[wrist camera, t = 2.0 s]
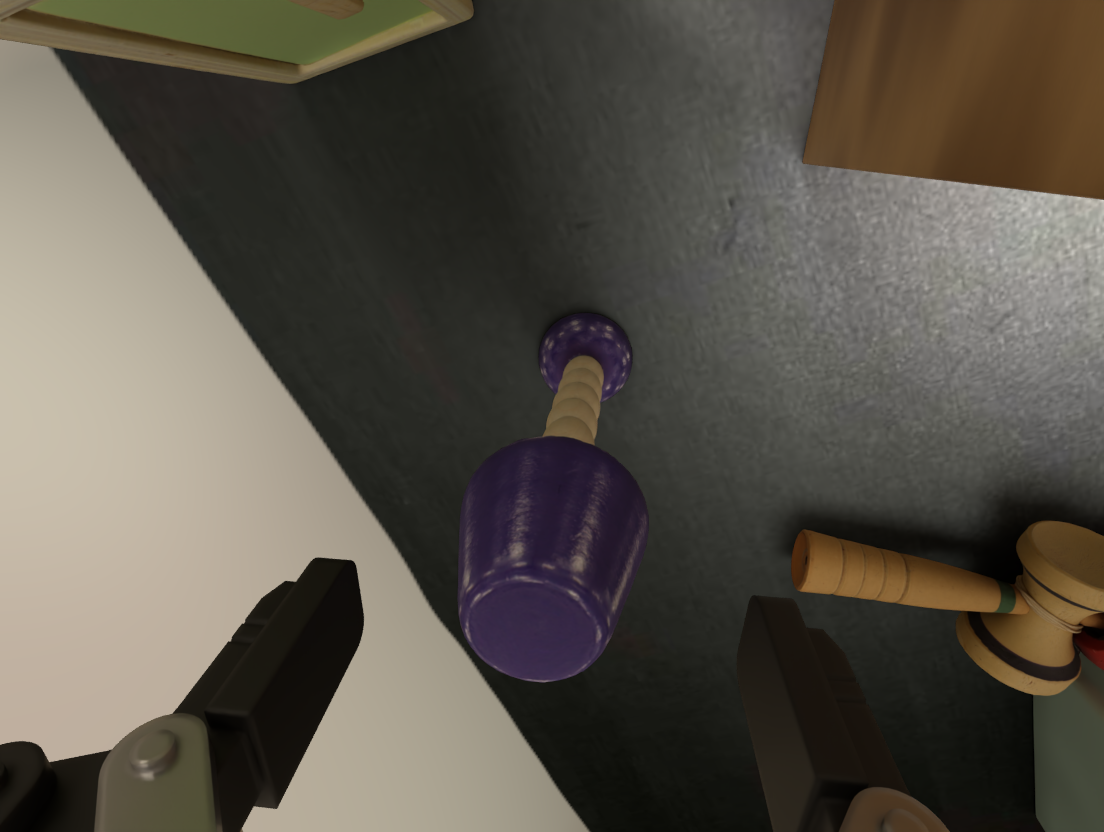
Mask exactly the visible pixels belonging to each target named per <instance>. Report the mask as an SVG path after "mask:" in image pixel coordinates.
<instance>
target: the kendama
mask: <svg viewBox="0 0 1104 832" xmlns="http://www.w3.org/2000/svg"><path fill="white" fill-rule="evenodd" d="M1016 550H1017V554H1018V556H1019V558H1020V561H1021V563H1022V565H1023V575H1018V576H1017V577H1016V582H1015V584H1009V583H1006V582H1002V581H999V580H996V579H993V578H990V577H987V576H984V575H980V574H977V573H974V572H970V571H967V570H964V569H961V568H957V567H954V566H950V565H947V564H943V563H940V562H936V561H932V560H928V559H924V558H920V557H916V556H912V555H907V554H903V553H897V552H894V551H890V550H886V549H880V548H876V547H873V546H869V545H865V544H860V543H856V542H852V541H848V540H844V539H837V538H835V537H832V536H828V535H825V534H821V533H817V532H814V531H810V530H805V529H804V530H802V531H801V532H800V533H799V534H798V536H797V538H796V541H795V544H794V547H793V552H792V561H791V574H792V580H793V583H794V586H795V588H796V589H797V590H799V591H803V592H812V593H822V594H831V593H832V594H834V595H839V596H847V597H856V598H862V599H870V600H871V599H874V600H877V601H884V602H891V603H892V602H895V603H899V604H905V605H912V606H920V607H928V608H937V609H948V610H961V613H960V614H959V616H958V618H957V620H956V634H957V637H958V640H959V642H960V644H961V646H962V647H963V648H964V650H965V651H966V652H967V653H968V655H969V656H970V657H971V658H972V659H973V661H975V662H976V663H977V664H978V665H979V666H980V667H981V668H982V669H984V670H985V671H986V672H987V673H989V674H990V675H991V676H993V677H994V678H996V679H998V680H999V681H1001V682H1002V683H1004V684H1006V685H1008V686H1010V687H1013V688H1015V689H1017V690H1020V691H1022V692H1025V693H1029V694H1033V695H1043V696H1050V695H1055V694H1058V693H1060V692H1061V691H1063V690H1065V689H1066V688H1067V687H1068V686H1069V685H1070V684H1071V683H1072V682H1074V681H1075V680H1076V679H1077V678H1078V676H1079V675H1080V672H1081V659H1080V656H1079V654H1080V652H1081V653H1082V654H1083V655H1084V656H1086V657H1087V658H1088V659H1089V660H1090V661H1091V662H1093V663H1094V664H1095V665H1096V666H1098V667H1099V668H1101V669H1102V670H1104V536H1102V535H1099V534H1097V533H1095V532H1093V531H1091V530H1089V529H1086V528H1083V527H1080V526H1077V525H1073V524H1070V523H1065V522H1059V521H1039V522H1036V523H1033V524H1032V525H1030V526H1029V527H1028V528H1027V530H1026V531H1025V532H1024V533H1023V534H1022V535H1021V536H1020V538H1019V539H1018V541H1017V545H1016Z"/></svg>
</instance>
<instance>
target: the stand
mask: <svg viewBox="0 0 1104 832" xmlns="http://www.w3.org/2000/svg"><path fill="white" fill-rule="evenodd" d="M803 164H810V165H818V166H826V167H835V168H843V169H851V170H860V171H868V172H877V173H885V174H893V175H902V176H910V177H918V178H927V179H935V180H943V181H952V182H960V183H968V184H977V185H985V186H993V187H1002V188H1010V189H1018V190H1027V191H1035V192H1044V193H1052V194H1060V195H1069V196H1077V197H1085V198H1094V199H1102V200H1104V0H835V1H834V6H833V11H832V16H831V21H830V26H829V31H828V36H827V41H826V46H825V51H824V57H823V62H822V67H821V72H820V77H819V82H818V87H817V92H816V97H815V102H814V107H813V112H812V117H811V122H810V127H809V132H808V137H807V142H806V147H805V152H804V157H803Z"/></svg>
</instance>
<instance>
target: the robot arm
mask: <svg viewBox="0 0 1104 832" xmlns="http://www.w3.org/2000/svg"><path fill="white" fill-rule="evenodd" d="M363 626H364V613H363V607H362V600H361V594H360V588H359V581H358V574H357V568H356V565H355V563H354V562H353V561H352V560H341V559H329V558H315V559H313V560H312V561H311V562H310V563H309V565H308V566H307V567H306V569H305V570H304V572H303V573H302V574H301V576H300V577H299V578H298V580H297V581H296V582H291V581H285V582H283V583H282V584H281V585H279V586H278V587H276V588H275V589H274V590H272V591H271V592H270V593H268V594H267V595H265V596H264V597H263V598H261V600H260V601H259V602H258V604H257V605H256V606H255V608H254V609H253V610H252V611H251V613H250V614H249V615H248V617H247V618H246V620H245V623H244V624H242V625H241V626H240V627H239V628H238V630H237V631H236V632H235V634H234V635H233V636H232V640H231V642H228V643H227V644H226V645H225V647H224V648H223V649H222V651H221V652H220V653H219V654H218V656H217V657H216V658H215V660H214V661H213V662H212V664H211V665H210V666H209V667H208V669H207V670H206V671H205V673H204V674H203V675H202V677H201V678H200V679H199V680H198V682H197V683H196V684H195V686H194V687H193V688H192V690H191V691H190V692H189V694H188V695H187V696H186V698H185V699H184V700H183V701H182V703H181V704H180V705H179V706H178V708H177V709H176V710H175V711H174V712H173V714H170V715H165V716H162V717H159V718H156V719H153V720H151V721H149V722H147V723H145V724H143V725H141V726H139V727H138V728H136V729H135V730H133V731H132V732H131V733H129V734H128V735H127V736H125V737H124V738H123V739H122V740H121V741H120V742H119V743H118V744H117V745H116V746H115V747H114V748H113V749H112V750H109V751H104V752H99V753H95V754H89V755H84V756H79V757H74V758H69V759H64V760H59V761H54V762H49V761H48V759H47V757H46V756H45V754H44V752H43V750H42V749H41V747H39V746H38V745H37V744H34V743H32V742H25V741H19V742H11V743H6V744H2V745H0V832H243V831H242V827H243V825H244V823H245V821H246V819H247V817H248V816H249V814H250V812H251V810H252V808H253V806H256V807H265V808H273V809H277V808H278V806H279V804H280V802H281V800H282V798H283V796H284V794H285V792H286V790H287V788H288V786H289V784H290V782H291V780H292V777H293V776H294V774H295V772H296V770H297V768H298V766H299V764H300V762H301V760H302V758H303V756H304V754H305V752H306V750H307V748H308V746H309V744H310V742H311V740H312V738H313V736H314V734H315V732H316V730H317V728H318V726H319V724H320V722H321V720H322V718H323V716H324V714H325V712H326V710H327V708H328V706H329V704H330V702H331V700H332V698H333V696H334V694H335V692H336V690H337V688H338V686H339V684H340V682H341V680H342V678H343V676H344V674H345V672H346V670H347V668H348V666H349V664H350V662H351V660H352V658H353V656H354V654H355V652H356V650H357V648H358V646H359V643H360V640H361V637H362V633H363ZM737 677H738V684H739V688H740V693H741V697H742V701H743V705H744V709H745V714H746V718H747V722H748V726H749V731H750V735H751V739H752V743H753V747H754V752H755V756H756V760H757V764H758V768H759V773H760V777H761V781H762V785H763V790H764V794H765V798H766V802H767V806H768V811H769V815H770V819H771V823H772V827H773V832H949V830H948V829H947V828H946V827H945V825H944V824H943V823H942V822H941V821H940V820H939V818H938V817H937V816H936V815H935V814H934V813H932V812H931V811H930V810H929V809H928V808H927V807H925V806H924V805H923V804H921V803H920V802H918V801H917V800H915V799H914V798H912V797H911V795H910V793H909V791H908V789H907V788H906V786H905V783H904V781H903V779H902V777H901V775H900V773H899V770H898V768H897V766H896V764H895V762H894V760H893V757H892V755H891V753H890V751H889V749H888V746H887V744H886V742H885V740H884V738H883V736H882V733H881V731H880V729H879V727H878V725H877V723H876V720H875V718H874V716H873V714H872V712H871V710H870V707H869V705H866V699H865V696H864V694H863V692H862V690H861V688H860V686H859V683H856V677H855V675H854V673H853V670H852V668H851V666H850V664H849V662H848V660H847V657H846V655H845V653H844V652H843V650H842V649H841V648H840V647H839V646H838V645H837V644H836V643H835V642H834V641H833V640H832V639H831V638H830V637H829V635H828V634H827V633H826V632H825V631H824V630H823V629H814V628H806V626H805V623H804V621H803V618H802V616H801V613H800V611H799V608H798V606H797V604H796V602H795V601H794V600H793V599H791V598H779V597H767V596H755V595H754V596H752V597H751V599H750V601H749V605H748V609H747V613H746V618H745V622H744V626H743V631H742V635H741V639H740V644H739V648H738V654H737Z"/></svg>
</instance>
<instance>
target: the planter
mask: <svg viewBox="0 0 1104 832" xmlns="http://www.w3.org/2000/svg"><path fill="white" fill-rule="evenodd" d="M1079 656H1080V659H1081V672H1080V675H1079V676H1078V678H1077V679H1076V680H1075V681H1074V682H1072V683H1071V684H1070V685H1069V686H1068V687H1067V688H1066V689H1065V690H1063V691H1061V692H1060V693H1058V694H1055V695H1050V696H1043V695H1033V717H1034V763H1035V806H1036V817H1037V819H1038V820H1039V822H1040V823H1041V825H1042V827H1043V828H1044V830H1045V831H1046V832H1104V670H1102V669H1101V668H1099V667H1098V666H1096V665H1095V664H1094V663H1093V662H1091V661H1090V660H1089V659H1088V658H1087V657H1086V656H1084V655H1083V654H1082V653H1081V652H1080V654H1079Z"/></svg>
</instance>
